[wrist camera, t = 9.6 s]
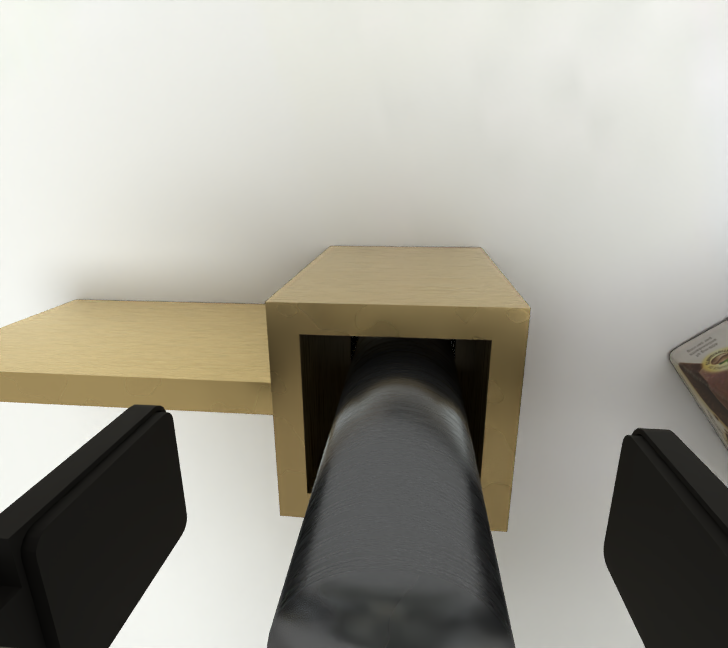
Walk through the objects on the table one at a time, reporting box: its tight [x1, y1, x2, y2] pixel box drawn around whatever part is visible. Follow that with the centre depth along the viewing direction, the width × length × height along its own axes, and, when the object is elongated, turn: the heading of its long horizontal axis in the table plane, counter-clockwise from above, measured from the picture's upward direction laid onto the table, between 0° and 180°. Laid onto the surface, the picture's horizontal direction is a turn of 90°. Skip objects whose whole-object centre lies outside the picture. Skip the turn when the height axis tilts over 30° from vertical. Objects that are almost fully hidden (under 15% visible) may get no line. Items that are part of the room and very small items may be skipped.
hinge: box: [0, 246, 531, 532], centre depth 19 cm, size 18×18×9 cm
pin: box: [267, 336, 515, 648], centre depth 14 cm, size 3×3×15 cm
